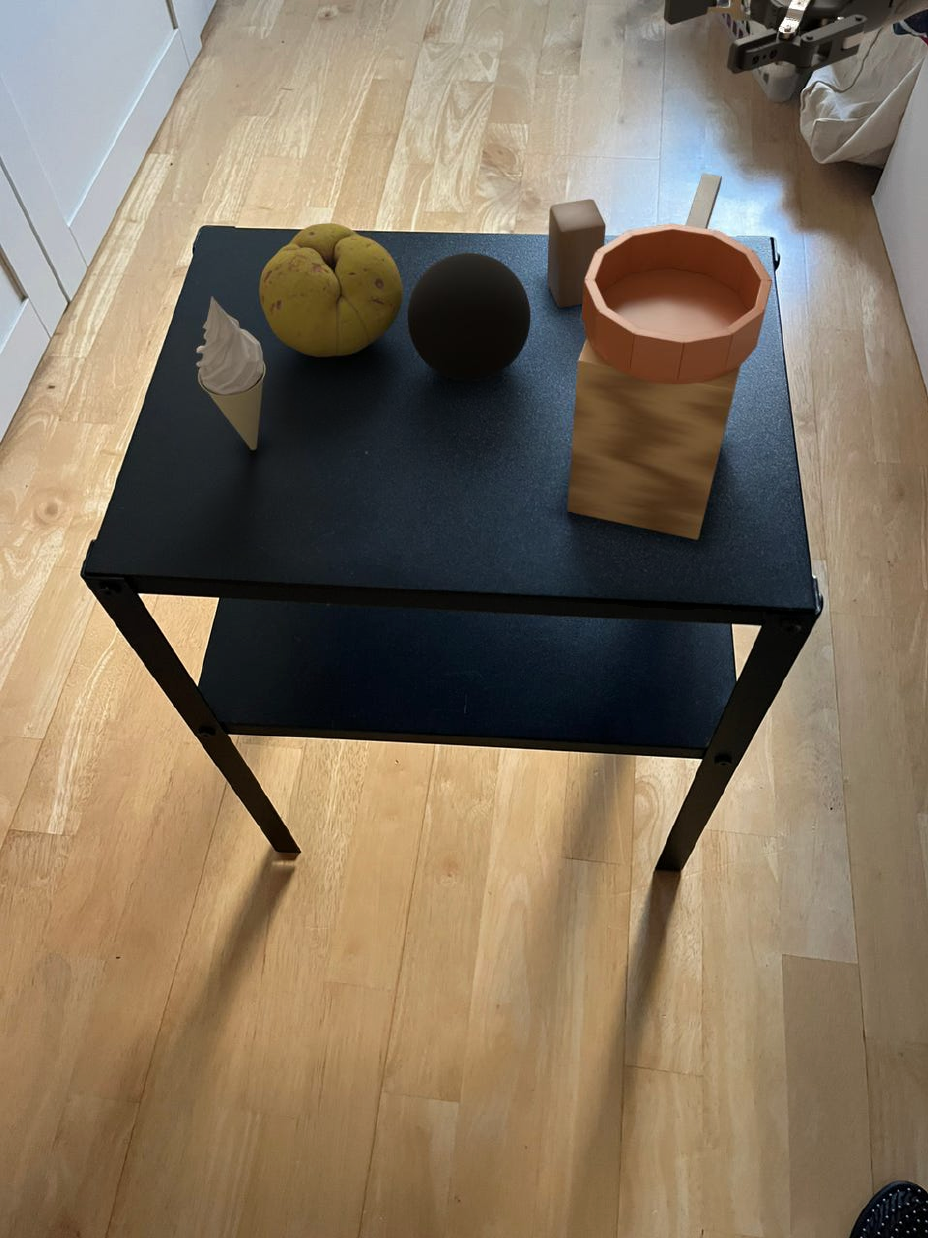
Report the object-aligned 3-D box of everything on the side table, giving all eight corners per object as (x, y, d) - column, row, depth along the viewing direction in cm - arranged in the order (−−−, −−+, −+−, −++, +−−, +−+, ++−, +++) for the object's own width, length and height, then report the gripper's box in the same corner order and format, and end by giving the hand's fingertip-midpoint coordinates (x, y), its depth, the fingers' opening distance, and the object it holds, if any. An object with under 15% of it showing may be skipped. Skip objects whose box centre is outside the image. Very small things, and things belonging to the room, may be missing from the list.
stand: (721, 445, 82) (758, 289, 70) (697, 540, 77) (733, 389, 65) (598, 420, 84) (613, 265, 72) (567, 511, 79) (577, 360, 67)
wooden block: (545, 282, 94) (548, 203, 88) (588, 274, 95) (594, 196, 88) (557, 310, 92) (560, 231, 86) (600, 302, 93) (607, 224, 86)
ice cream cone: (281, 470, 83) (241, 319, 70) (218, 471, 83) (167, 321, 70) (288, 425, 85) (251, 272, 73) (227, 425, 86) (179, 273, 73)
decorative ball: (465, 310, 93) (461, 210, 84) (553, 359, 89) (558, 260, 80) (388, 370, 89) (375, 272, 80) (476, 424, 85) (472, 326, 76)
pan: (743, 399, 64) (754, 356, 61) (564, 365, 67) (566, 322, 64) (785, 223, 74) (797, 178, 71) (628, 199, 76) (633, 154, 73)
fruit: (272, 305, 94) (249, 207, 86) (401, 291, 94) (391, 192, 86) (274, 391, 88) (249, 293, 80) (412, 375, 88) (402, 277, 80)
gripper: (822, -108, 84) (651, -57, 80) (946, -37, 76) (764, 23, 73) (800, -9, 90) (641, 42, 86) (913, 66, 82) (744, 125, 79)
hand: (698, 33), depth 79 cm, fingers open, 8 cm apart
